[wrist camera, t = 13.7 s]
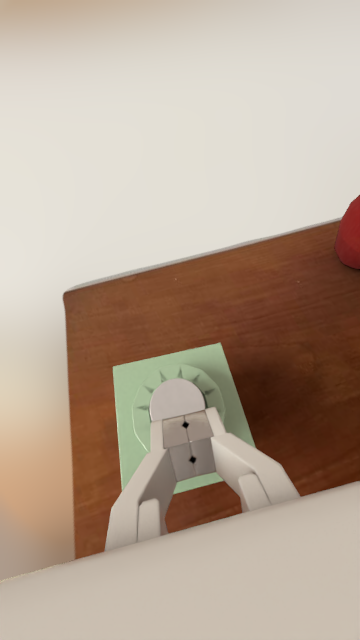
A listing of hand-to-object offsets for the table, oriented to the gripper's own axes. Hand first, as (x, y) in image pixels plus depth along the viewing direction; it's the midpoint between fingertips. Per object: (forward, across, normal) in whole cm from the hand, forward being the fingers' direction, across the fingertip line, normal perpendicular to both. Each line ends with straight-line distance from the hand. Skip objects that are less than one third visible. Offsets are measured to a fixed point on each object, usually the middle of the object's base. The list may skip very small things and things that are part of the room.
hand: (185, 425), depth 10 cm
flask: (+15, 0, -13) cm, 19 cm away
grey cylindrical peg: (+5, 0, -3) cm, 6 cm away
